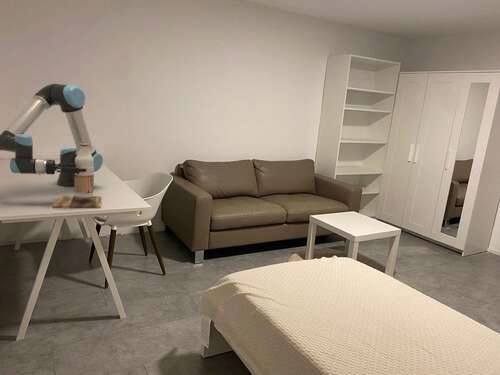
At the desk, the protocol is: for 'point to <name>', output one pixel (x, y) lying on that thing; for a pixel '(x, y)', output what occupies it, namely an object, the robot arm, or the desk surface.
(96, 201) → the floor panel
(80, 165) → the fruit juice
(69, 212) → the desk surface
